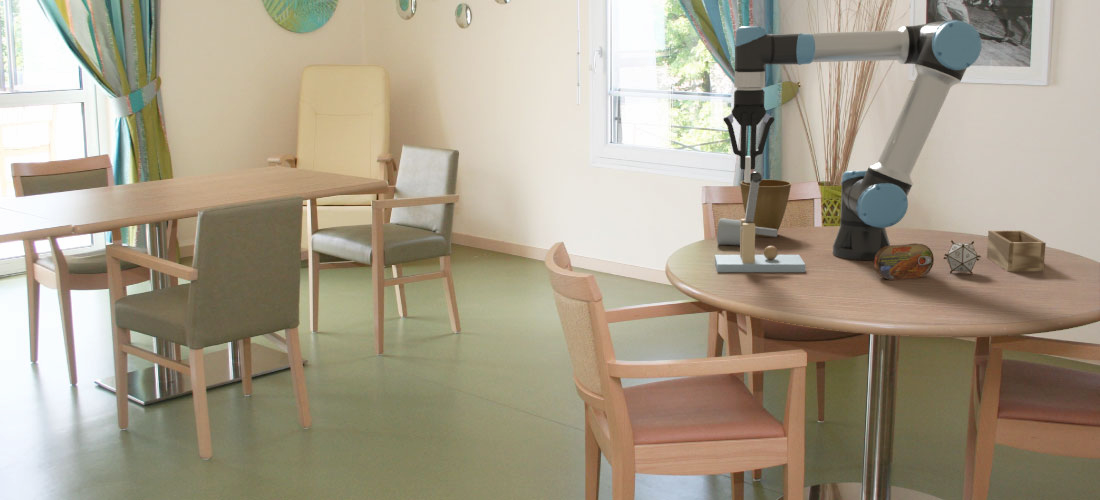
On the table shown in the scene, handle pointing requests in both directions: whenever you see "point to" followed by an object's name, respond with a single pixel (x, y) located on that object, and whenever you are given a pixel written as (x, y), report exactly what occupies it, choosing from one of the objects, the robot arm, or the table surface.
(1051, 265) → the table surface
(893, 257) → the tin
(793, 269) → the base
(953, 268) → the game die
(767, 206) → the plant pot
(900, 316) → the table surface
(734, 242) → the ceramic mug
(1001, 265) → the box
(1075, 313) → the table surface
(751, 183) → the lever
